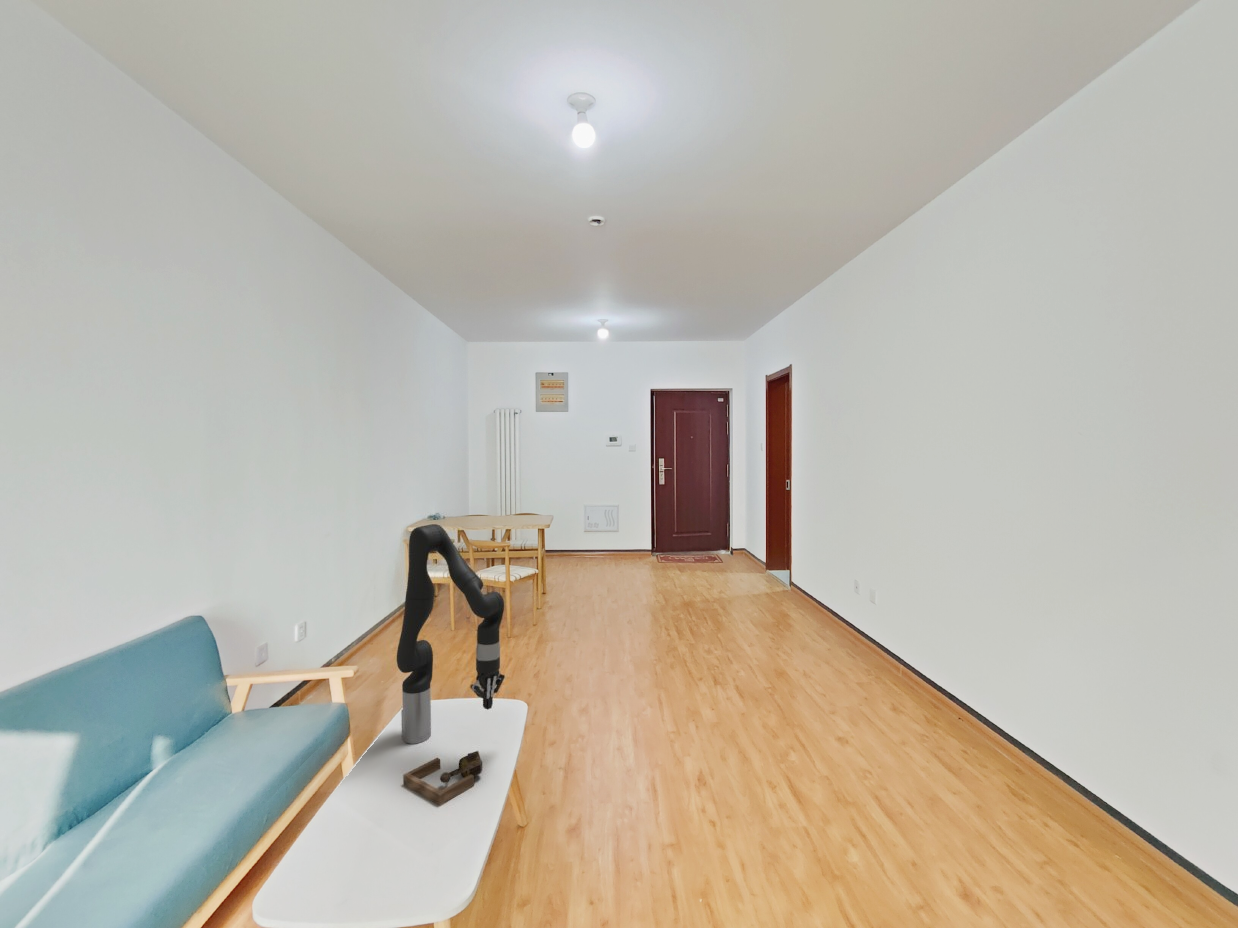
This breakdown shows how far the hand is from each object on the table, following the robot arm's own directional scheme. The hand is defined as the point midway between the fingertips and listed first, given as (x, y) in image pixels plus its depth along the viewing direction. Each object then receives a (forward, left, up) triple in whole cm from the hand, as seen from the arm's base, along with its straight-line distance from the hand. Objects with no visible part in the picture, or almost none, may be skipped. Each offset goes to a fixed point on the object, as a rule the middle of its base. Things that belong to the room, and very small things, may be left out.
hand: (487, 708), depth 188 cm
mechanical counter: (0, -15, -16) cm, 22 cm away
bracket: (0, -17, -16) cm, 24 cm away
